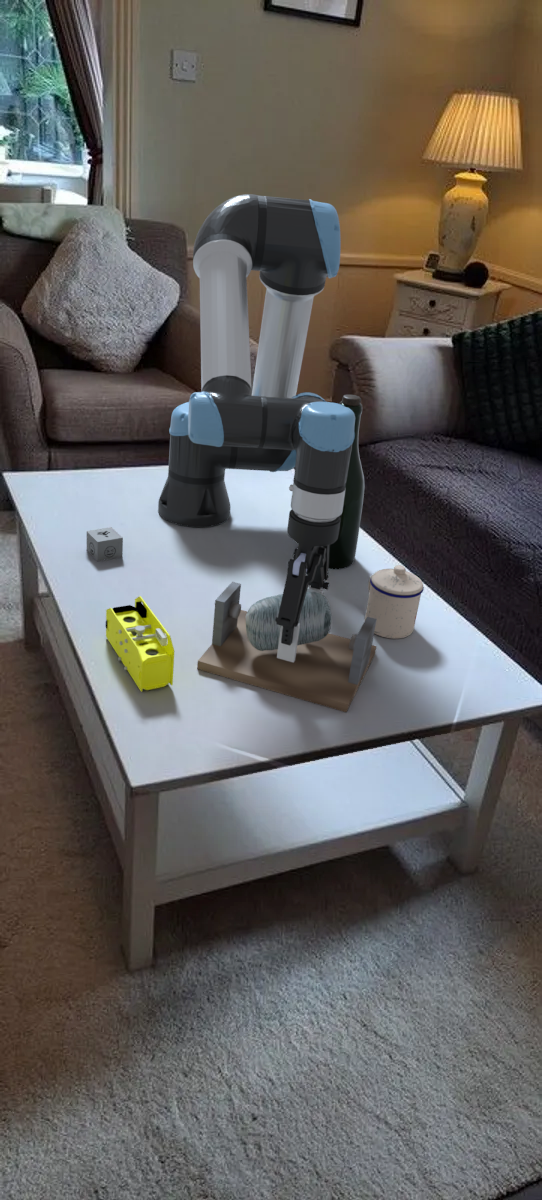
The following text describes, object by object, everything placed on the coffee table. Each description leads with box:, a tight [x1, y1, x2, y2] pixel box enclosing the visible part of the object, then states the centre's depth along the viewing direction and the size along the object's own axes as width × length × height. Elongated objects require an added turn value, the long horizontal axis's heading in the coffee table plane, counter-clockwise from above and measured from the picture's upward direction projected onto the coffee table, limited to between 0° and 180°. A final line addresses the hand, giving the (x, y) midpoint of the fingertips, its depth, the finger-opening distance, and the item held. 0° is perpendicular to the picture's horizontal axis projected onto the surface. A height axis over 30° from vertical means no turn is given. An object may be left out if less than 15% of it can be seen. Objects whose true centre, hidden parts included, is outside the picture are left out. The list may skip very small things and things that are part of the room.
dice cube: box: [86, 526, 124, 562], centre depth 160 cm, size 5×5×5 cm
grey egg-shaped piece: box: [246, 592, 332, 651], centre depth 133 cm, size 14×10×10 cm
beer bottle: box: [329, 394, 365, 570], centre depth 163 cm, size 10×10×33 cm
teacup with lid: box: [364, 564, 425, 640], centre depth 148 cm, size 12×9×12 cm
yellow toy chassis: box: [105, 595, 175, 692], centre depth 130 cm, size 16×6×8 cm, turn 28°
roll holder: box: [196, 581, 377, 713], centre depth 135 cm, size 18×24×10 cm
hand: (298, 641), depth 135 cm, fingers closed on grey egg-shaped piece, 11 cm apart
